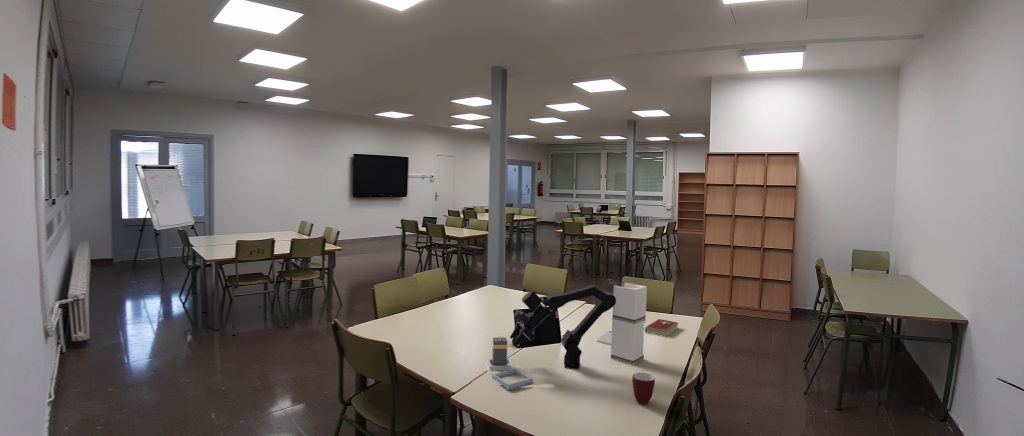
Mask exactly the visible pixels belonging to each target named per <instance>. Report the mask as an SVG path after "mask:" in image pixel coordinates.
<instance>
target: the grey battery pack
mask: <svg viewBox="0 0 1024 436" xmlns="http://www.w3.org/2000/svg"><path fill="white" fill-rule="evenodd" d="M491 342H492V351H491V359H492V366H504V365H507V359H508V339H507V337H506V336H505V337H503V336H501V334H498V337H492V341H491Z"/></svg>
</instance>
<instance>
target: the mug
mask: <svg viewBox="0 0 1024 436" xmlns="http://www.w3.org/2000/svg"><path fill="white" fill-rule="evenodd" d="M655 380H656V378H655V376H654V375H653V374H650V373H646V372H635V373H633V374H632V380H631V381H632V388H633V389H632V391H633V396H634V398H635V401H636V402H637V403H638V404H639V405H648V404H649V403H650V401H651V399H652V398H653V394H654V393H653V392H654V389H655Z"/></svg>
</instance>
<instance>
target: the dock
mask: <svg viewBox="0 0 1024 436" xmlns="http://www.w3.org/2000/svg"><path fill="white" fill-rule="evenodd" d="M484 363H485V365H484V366H485V369H486V371H487V372H490V371H492V372H493V371H508V370H512V369H515V367H514V365H513V362H512V361H511V360H510V359H509V358H507V365H504V366H492V358H490V359H487V361H485V362H484Z"/></svg>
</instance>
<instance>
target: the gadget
mask: <svg viewBox="0 0 1024 436" xmlns="http://www.w3.org/2000/svg"><path fill="white" fill-rule="evenodd" d="M596 342H597V343H602V344H604V345H609V346H611V343H612V330H609V331H606V332H605V333H604V334H603V335H601V336H600V337H599V338H597V340H596Z"/></svg>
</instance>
